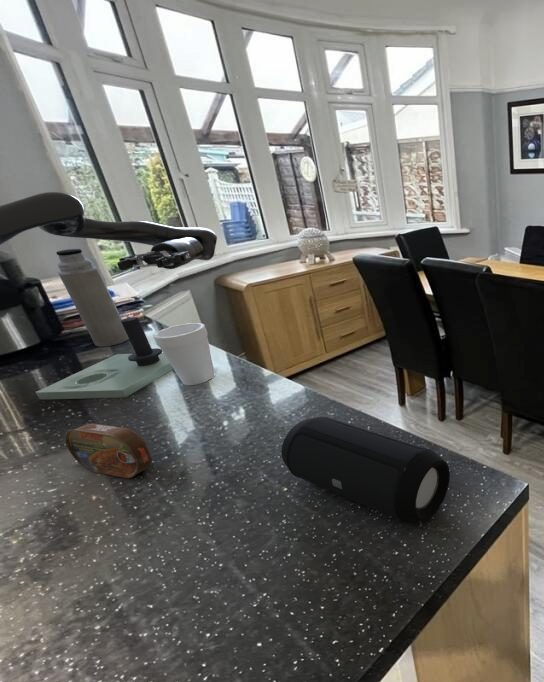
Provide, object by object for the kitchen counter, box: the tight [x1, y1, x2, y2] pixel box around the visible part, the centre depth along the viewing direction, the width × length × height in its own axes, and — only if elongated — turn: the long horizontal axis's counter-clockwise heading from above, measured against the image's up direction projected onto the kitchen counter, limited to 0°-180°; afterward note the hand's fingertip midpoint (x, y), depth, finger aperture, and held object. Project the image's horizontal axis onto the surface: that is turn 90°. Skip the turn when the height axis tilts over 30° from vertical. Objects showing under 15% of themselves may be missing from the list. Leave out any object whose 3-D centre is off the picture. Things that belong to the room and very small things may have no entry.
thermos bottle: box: [55, 248, 129, 347], centre depth 115 cm, size 8×8×28 cm
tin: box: [65, 422, 153, 479], centre depth 65 cm, size 15×3×8 cm, turn 76°
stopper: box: [121, 316, 163, 366], centre depth 99 cm, size 7×7×12 cm
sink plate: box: [35, 352, 174, 401], centre depth 98 cm, size 20×20×2 cm
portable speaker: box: [280, 416, 451, 523], centre depth 59 cm, size 26×10×10 cm, turn 65°
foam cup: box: [152, 322, 215, 386], centre depth 94 cm, size 10×9×13 cm
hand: (139, 265), depth 102 cm, fingers open, 8 cm apart
